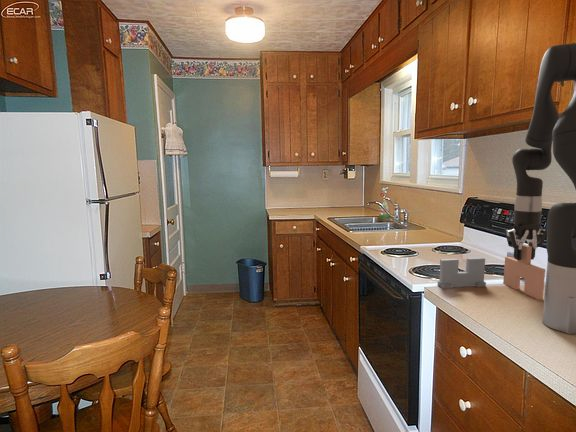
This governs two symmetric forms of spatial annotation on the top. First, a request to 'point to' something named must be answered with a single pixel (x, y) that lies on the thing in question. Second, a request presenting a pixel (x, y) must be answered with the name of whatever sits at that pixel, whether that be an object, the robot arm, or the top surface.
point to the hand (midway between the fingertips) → (524, 259)
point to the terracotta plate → (524, 274)
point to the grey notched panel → (462, 273)
